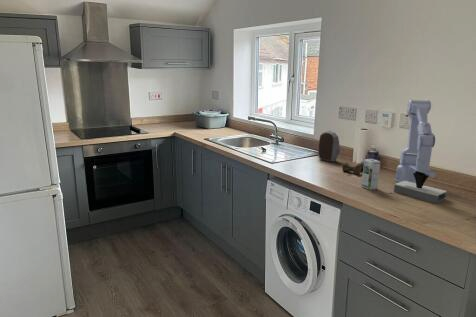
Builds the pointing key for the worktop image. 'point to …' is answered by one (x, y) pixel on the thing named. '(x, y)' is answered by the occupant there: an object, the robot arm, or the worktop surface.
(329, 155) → the grey rounded bag
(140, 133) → the worktop surface
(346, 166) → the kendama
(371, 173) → the syrup box
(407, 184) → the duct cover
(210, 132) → the worktop surface
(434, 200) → the cable duct
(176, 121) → the worktop surface
